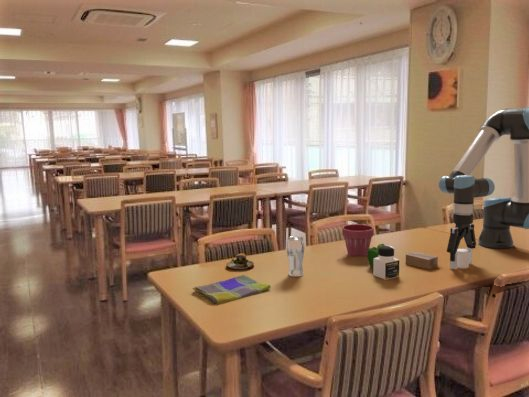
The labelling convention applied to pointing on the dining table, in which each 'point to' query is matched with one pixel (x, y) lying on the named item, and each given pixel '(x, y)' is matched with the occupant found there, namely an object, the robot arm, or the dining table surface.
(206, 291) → the dish towel
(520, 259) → the dining table surface
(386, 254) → the medicine bottle
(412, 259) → the walnut base block
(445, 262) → the dining table surface
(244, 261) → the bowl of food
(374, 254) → the bell pepper
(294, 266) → the beer glass
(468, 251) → the white cup
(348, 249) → the plant pot
